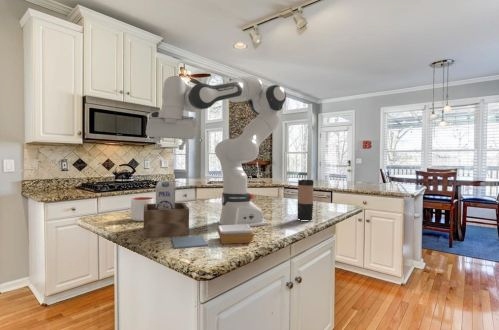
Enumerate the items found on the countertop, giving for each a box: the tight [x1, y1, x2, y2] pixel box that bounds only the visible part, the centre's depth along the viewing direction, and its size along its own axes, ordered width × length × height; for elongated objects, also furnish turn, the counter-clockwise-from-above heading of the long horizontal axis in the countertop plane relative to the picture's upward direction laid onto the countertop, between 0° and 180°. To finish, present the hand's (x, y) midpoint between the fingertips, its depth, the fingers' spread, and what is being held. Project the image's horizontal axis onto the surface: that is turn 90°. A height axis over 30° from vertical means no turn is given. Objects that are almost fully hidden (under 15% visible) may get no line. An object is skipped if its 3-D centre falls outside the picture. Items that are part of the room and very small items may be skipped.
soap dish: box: [216, 224, 255, 245], centre depth 103 cm, size 12×10×5 cm
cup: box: [130, 196, 155, 222], centre depth 134 cm, size 10×10×10 cm
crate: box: [142, 202, 190, 239], centre depth 113 cm, size 16×16×10 cm
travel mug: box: [296, 179, 314, 221], centre depth 140 cm, size 8×8×20 cm
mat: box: [171, 235, 209, 249], centre depth 99 cm, size 11×11×1 cm
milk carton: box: [155, 180, 176, 210], centre depth 113 cm, size 7×7×20 cm
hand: (169, 149), depth 116 cm, fingers open, 8 cm apart
